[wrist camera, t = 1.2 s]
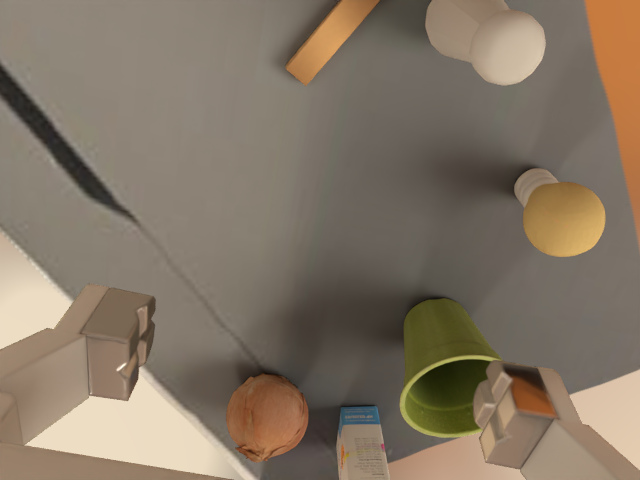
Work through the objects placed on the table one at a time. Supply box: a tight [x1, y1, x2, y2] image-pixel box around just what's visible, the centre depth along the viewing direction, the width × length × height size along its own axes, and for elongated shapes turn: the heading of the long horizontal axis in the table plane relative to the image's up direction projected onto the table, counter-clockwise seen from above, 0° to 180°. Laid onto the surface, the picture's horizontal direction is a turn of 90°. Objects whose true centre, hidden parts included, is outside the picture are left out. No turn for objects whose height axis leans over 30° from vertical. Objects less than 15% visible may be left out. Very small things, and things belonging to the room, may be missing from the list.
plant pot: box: [400, 298, 503, 437], centre depth 55 cm, size 12×12×11 cm
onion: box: [226, 373, 308, 462], centre depth 60 cm, size 10×9×10 cm
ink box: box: [336, 406, 390, 480], centre depth 63 cm, size 8×5×15 cm, turn 177°
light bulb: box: [514, 168, 605, 257], centre depth 46 cm, size 6×6×10 cm
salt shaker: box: [425, 0, 546, 86], centre depth 36 cm, size 6×6×13 cm
